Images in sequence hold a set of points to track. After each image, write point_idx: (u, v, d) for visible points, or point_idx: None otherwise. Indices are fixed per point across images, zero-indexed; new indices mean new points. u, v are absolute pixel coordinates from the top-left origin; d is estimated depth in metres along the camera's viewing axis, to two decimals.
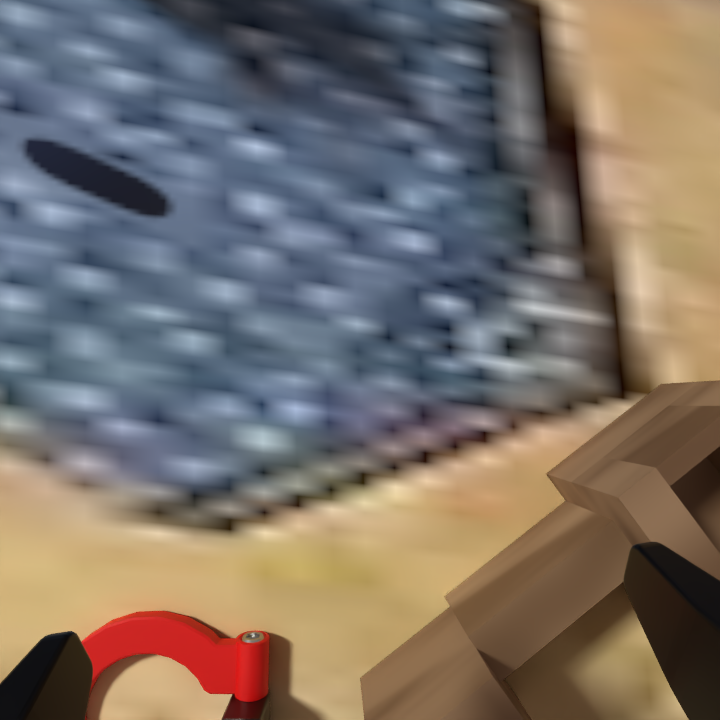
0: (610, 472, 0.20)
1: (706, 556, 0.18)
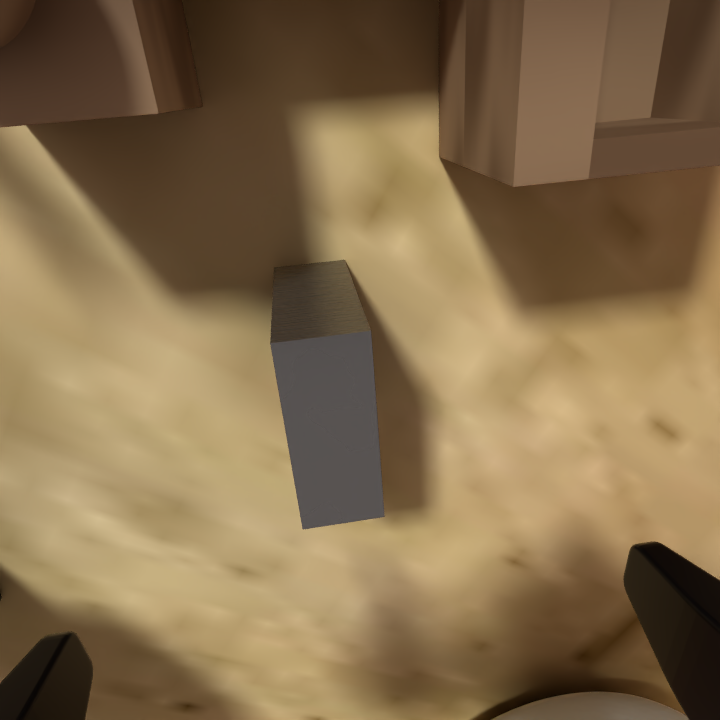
0: None
1: None
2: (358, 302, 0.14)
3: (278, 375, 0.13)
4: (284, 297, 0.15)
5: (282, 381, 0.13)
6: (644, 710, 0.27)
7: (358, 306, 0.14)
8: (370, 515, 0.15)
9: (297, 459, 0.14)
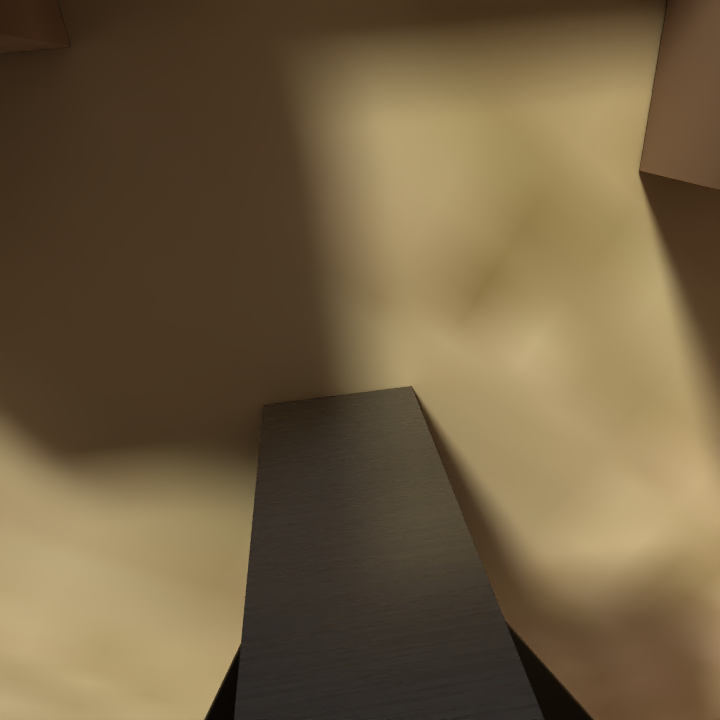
0: None
1: None
2: (494, 611, 0.05)
3: None
4: (280, 556, 0.06)
5: None
6: None
7: (502, 640, 0.05)
8: None
9: None
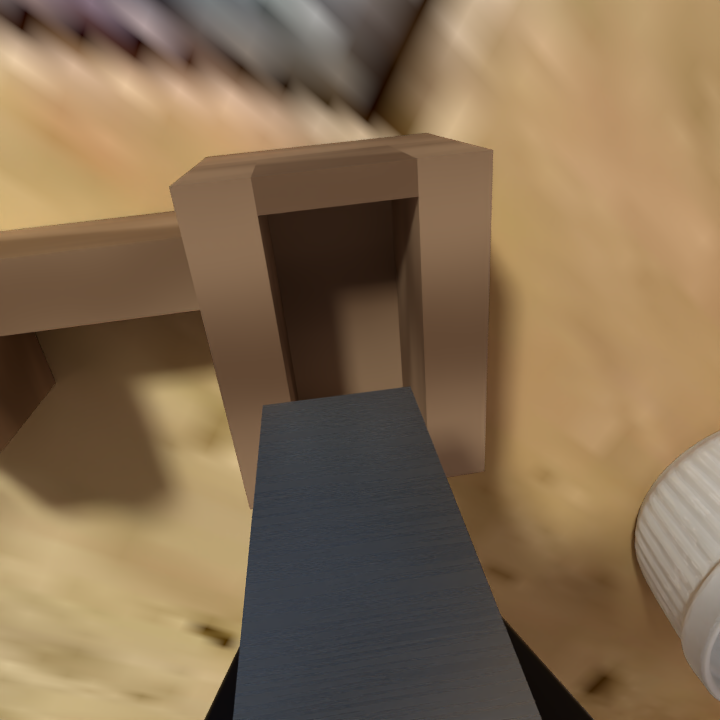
0: (226, 169, 0.13)
1: (258, 326, 0.12)
2: (491, 608, 0.05)
3: None
4: (280, 554, 0.06)
5: None
6: None
7: (498, 637, 0.05)
8: None
9: None
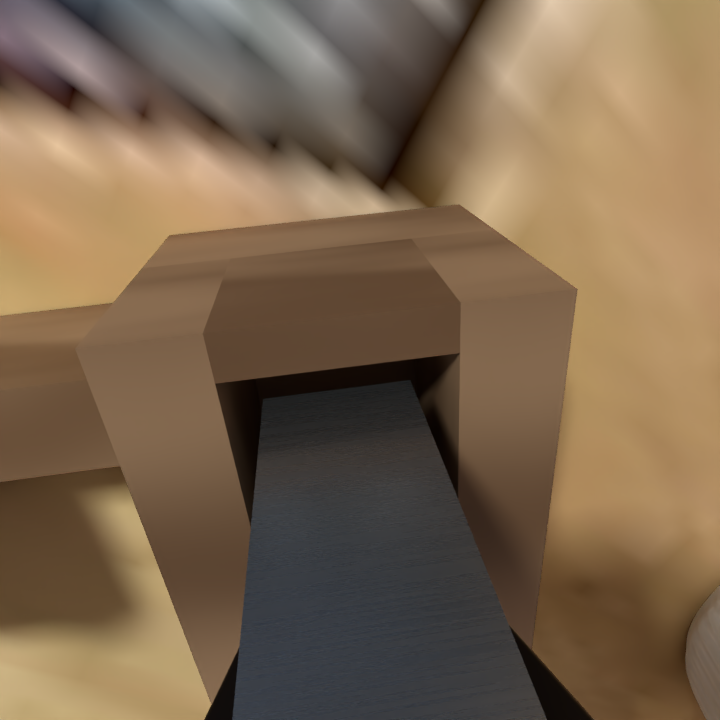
0: (178, 290, 0.09)
1: (221, 520, 0.09)
2: (490, 595, 0.05)
3: None
4: (280, 543, 0.06)
5: None
6: None
7: (497, 624, 0.05)
8: None
9: None
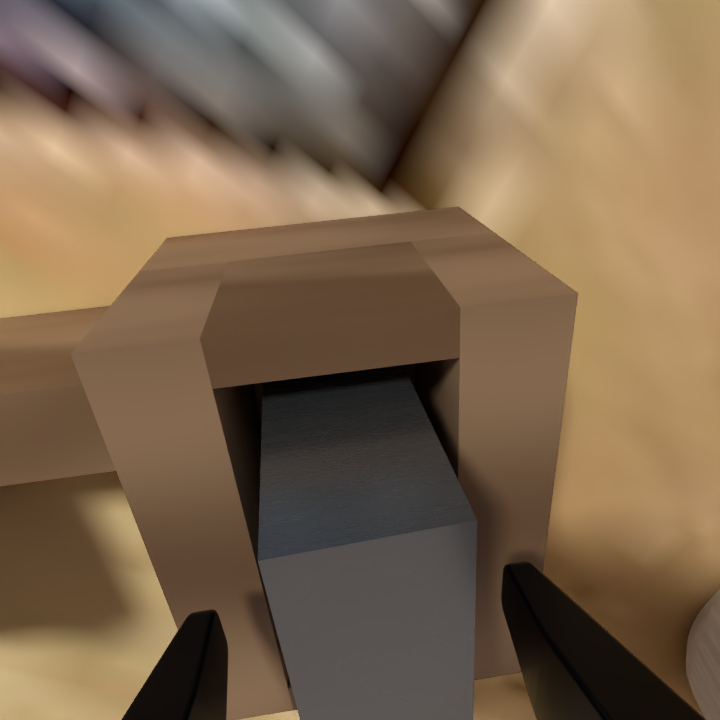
0: (175, 294, 0.09)
1: (218, 526, 0.09)
2: (426, 422, 0.07)
3: (277, 613, 0.06)
4: (284, 406, 0.08)
5: (286, 621, 0.06)
6: None
7: (429, 434, 0.07)
8: None
9: None
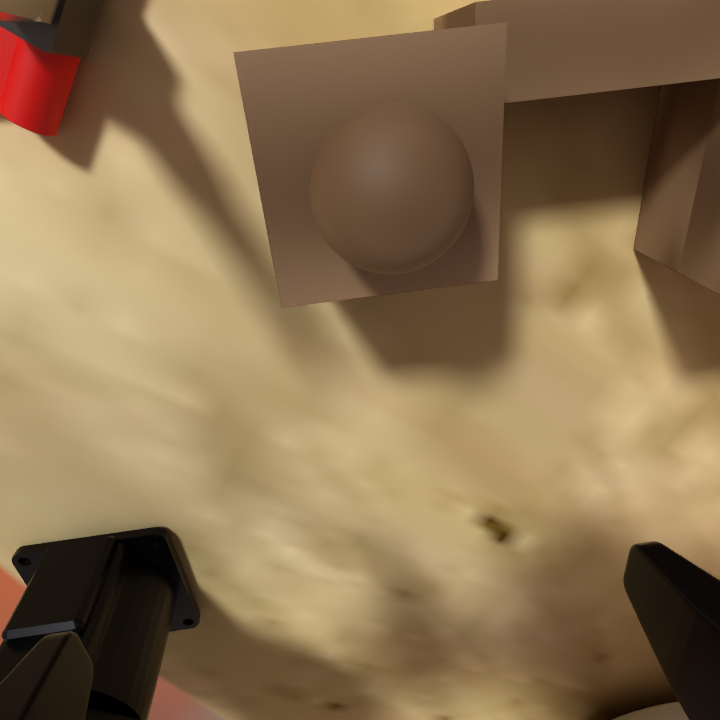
0: None
1: None
2: None
3: None
4: None
5: None
6: None
7: None
8: None
9: None
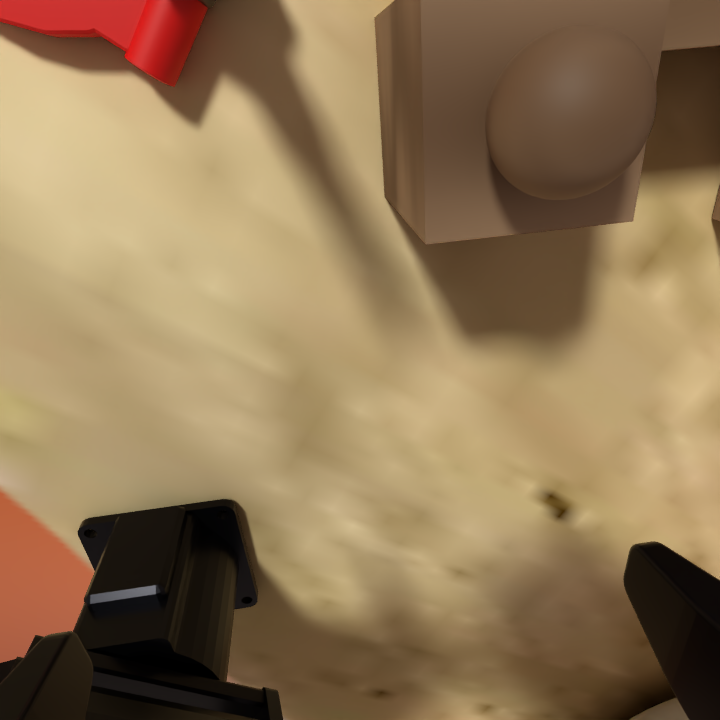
0: None
1: None
2: None
3: None
4: None
5: None
6: None
7: None
8: None
9: None
